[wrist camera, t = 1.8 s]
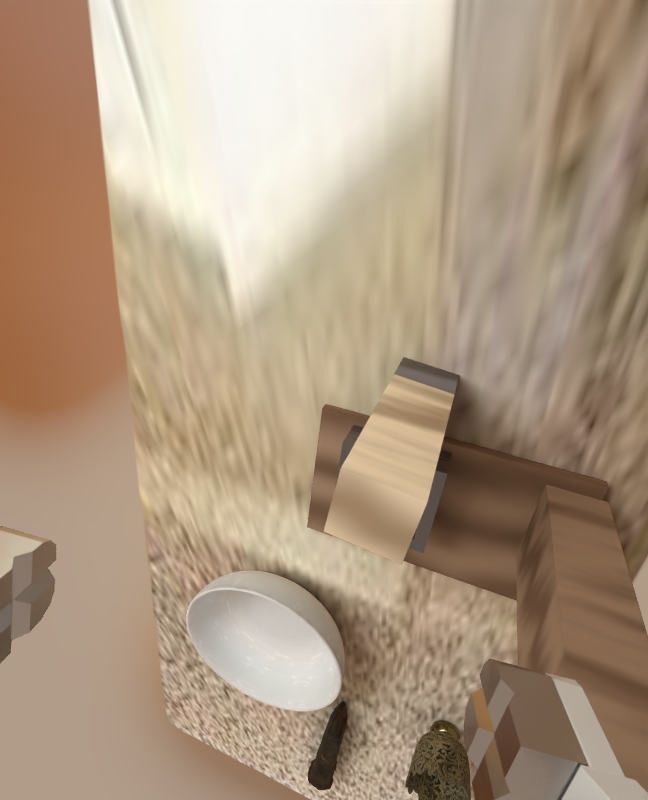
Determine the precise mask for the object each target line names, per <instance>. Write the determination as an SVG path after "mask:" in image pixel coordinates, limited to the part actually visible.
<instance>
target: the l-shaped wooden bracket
mask: <svg viewBox="0 0 648 800" xmlns="http://www.w3.org/2000/svg"><path fill="white" fill-rule="evenodd" d="M369 418H370V416H367V415H364V414H360V413H356V412H353V411H349V410H345V409H342V408H338V407H335V406H331V405H327V404H325V406H324V407H323V408H322V415H321V423H320V431H319V439H318V447H317V454H316V462H315V470H314V478H313V486H312V494H311V501H310V509H309V517H308V525H307V527H309V528H311V529H314V530H317V531H320V532H323V533H326V532H324V528H325V524H326V521H327V517H328V513H329V510H330V506H331V502H332V499H333V495H334V491H335V488H336V484H337V480H338V477H339V473H340V469H341V467H342V465H343V463H344V462H345V460H346V458H347V456H348V455H349V453H350V451H351V449H352V448H353V446H354V444H355V442H356V441H357V439H358V437H359V435H360V434H361V432H362V430H363V428H364V426H365V425H366V423H367V421H368V419H369ZM608 489H609V488H608V485H607V482H606V481H602V480H599V479H595V478H591V477H588V476H584V475H581V474H577V473H573V472H570V471H566V470H562V469H559V468H555V467H552V466H548V465H544V464H541V463H537V462H534V461H530V460H526V459H523V458H519V457H515V456H512V455H508V454H505V453H501V452H497V451H494V450H490V449H487V448H483V447H479V446H476V445H472V444H468V443H465V442H461V441H458V440H454V439H450V438H447V437H444V438H443V442H442V446H441V450H440V454H439V458H438V462H437V466H436V470H435V474H434V478H433V482H432V486H431V490H430V494H429V498H428V502H427V505H426V507H425V509H424V512H423V514H422V517H421V519H420V521H419V524H418V526H417V529H416V531H415V534H414V536H413V538H412V541H411V543H410V546H409V548H408V550H407V553H406V555H405V558H404V560H403V561H406V562H409V563H411V564H414V565H417V566H420V567H423V568H426V569H429V570H431V571H434V572H437V573H440V574H443V575H446V576H449V577H451V578H454V579H457V580H460V581H463V582H466V583H469V584H471V585H474V586H477V587H480V588H483V589H486V590H489V591H491V592H494V593H497V594H500V595H503V596H506V597H509V598H511V599H514V600H517V642H518V666H519V667H523V668H527V669H531V670H535V671H539V672H542V673H544V674H545V673H548V674H552V675H556V676H560V677H564V678H568V679H572V680H575V681H576V682H577V683H578V684H579V685H580V686H581V687H582V689H583V691H584V693H585V695H586V697H587V699H588V701H589V703H590V705H591V707H592V709H593V711H594V713H595V716H596V718H597V720H598V722H599V724H600V726H601V728H602V730H603V732H604V734H605V736H606V738H607V740H608V742H609V744H610V747H611V749H612V751H613V753H614V755H615V757H616V759H617V761H618V763H619V765H620V767H621V769H622V771H623V773H624V776H625V777H626V778H630V779H633V780H636V782H637V783H638V784H639V785H640V786H641V787H642V788H643V789H644V790H645V791H646V792H647V793H648V636H647V632H646V629H645V625H644V622H643V619H642V616H641V612H640V608H639V605H638V601H637V598H636V594H635V591H634V588H633V584H632V581H631V577H630V574H629V570H628V567H627V563H626V560H625V557H624V553H623V550H622V546H621V543H620V539H619V536H618V532H617V529H616V526H615V522H614V519H613V515H612V512H611V508H610V505H609V502H606V501H602V500H603V498H604V496H605V494H606V492H607V491H608ZM326 534H328V533H326ZM329 535H331V534H329ZM331 536H333V535H331ZM334 537H335V536H334ZM337 538H338V537H337Z"/></svg>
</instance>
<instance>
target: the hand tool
mask: <svg viewBox="0 0 648 800" xmlns="http://www.w3.org/2000/svg"><path fill="white" fill-rule="evenodd" d="M341 708H342V709H341ZM346 723H347V708H346V703H345V702H341V703H340V704H339V705H338V706H337V707H336V708H335V710H334V712H333V713H332V714H331V716H330V719H329V722H328V725H327V727H326V729H325V732H324V734H323V737H322V741H321V744H320V747H319V749H318V752H317V756H316V759H314V760H313V761H312V762H311V766H310V768H309V771H308V781H309V783H311V784H312V785H313V786H314V787H316V788H317V789H318V790H326V789H330V788H331V786H332V783H333V774H334V771H335V769H336V763H337V761H336V759H337V756H338V752H339V748H340V745H341V742H342V739H343V734H344V731H345V728H346Z"/></svg>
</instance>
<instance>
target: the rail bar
mask: <svg viewBox="0 0 648 800" xmlns="http://www.w3.org/2000/svg"><path fill="white" fill-rule="evenodd" d="M458 379H459V375H457V374H454V373H450V372H447V371H444V370H441V369H438V368H435V367H432V366H429V365H426V364H423V363H420V362H417V361H414V360H411V359H408V358H405V357H404V358H403V360H402V361H401V363H400V365H399V367H398V368H397V370H396V372H395V374H394V375H393V377H392V379H391V381H390V382H389V384H388V386H387V388H386V389H385V391H384V393H383V395H382V397H381V398H380V400H379V402H378V404H377V405H376V407H375V409H374V411H373V412H372V414H371V416H370V418H369V419H368V421H367V423H366V425H365V426H364V428H363V430H362V432H361V434H360V435H359V437H358V439H357V441H356V442H355V444H354V446H353V448H352V449H351V451H350V453H349V455H348V456H347V458H346V460H345V462H344V463H343V465H342V467H341V469H340V473H339V477H338V480H337V484H336V488H335V491H334V495H333V499H332V502H331V506H330V510H329V513H328V517H327V521H326V524H325V528H324V532H326V533H328V534H331V535H333V536H335V537H338V538H340V539H343V540H345V541H347V542H350V543H352V544H354V545H357V546H359V547H361V548H364V549H366V550H369V551H371V552H373V553H376V554H378V555H380V556H383V557H385V558H387V559H390V560H392V561H395V562H397V563H399V564H402V563H403V560H404V558H405V555H406V553H407V550H408V548H409V546H410V543H411V541H412V538H413V536H414V534H415V531H416V529H417V526H418V524H419V521H420V519H421V517H422V514H423V512H424V509H425V507H426V505H427V502H428V498H429V494H430V490H431V486H432V482H433V478H434V474H435V470H436V466H437V462H438V458H439V454H440V450H441V446H442V442H443V438H444V435H445V431H446V427H447V423H448V419H449V415H450V411H451V407H452V403H453V399H454V395H455V391H456V387H457V383H458Z"/></svg>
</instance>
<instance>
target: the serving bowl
mask: <svg viewBox="0 0 648 800" xmlns="http://www.w3.org/2000/svg"><path fill="white" fill-rule="evenodd" d="M186 623H187V629H188V632H189V636H190V638H191V640H192V643H193V645H194V646H195V648H196V650H197V651H198V653H199V654H200V656H201V657H202V658H203V660H204V661H205V662H206V663H207V664H208V665H209V666H210V667H211V668H212V669H213V670H214V671H215V672H216V673H217V674H218V675H219V676H220V677H221V678H222V679H224V680H225V681H226V682H227V683H229V684H230V685H232V686H233V687H234V688H236V689H238V690H239V691H241V692H242V693H244V694H246V695H248V696H250V697H252V698H254V699H256V700H258V701H260V702H263V703H265V704H268V705H271V706H274V707H277V708H281V709H285V710H290V711H299V712H306V711H315V710H319V709H322V708H325V707H327V706H328V705H330V704H331V703H333V702H334V701H335V700H336V698H337V697H338V695H339V693H340V691H341V687H342V683H343V677H344V670H345V653H344V646H343V642H342V638H341V635H340V633H339V630H338V628H337V626H336V624H335V622H334V620H333V618H332V617H331V615H330V614H329V612H328V611H327V610H326V609H325V607H324V606H323V605H322V604H321V603H320V602H319V601H318V600H317V599H316V598H315V597H314V596H313V595H312V594H311V593H309V592H308V591H307V590H305V589H304V588H302V587H301V586H299V585H298V584H296V583H294V582H292V581H290V580H288V579H286V578H284V577H281V576H278V575H275V574H272V573H268V572H263V571H253V570H247V571H237V572H233V573H229V574H226V575H223V576H221V577H219V578H217V579H215V580H214V581H212V582H211V583H209V584H208V585H207V586H206V587H204V588H203V589H202V590H201V591H200V592H199V593H198V594H197V595H196V596H195V597H194V598H193V600H192V601H191V603H190V605H189V607H188V610H187V615H186Z"/></svg>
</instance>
